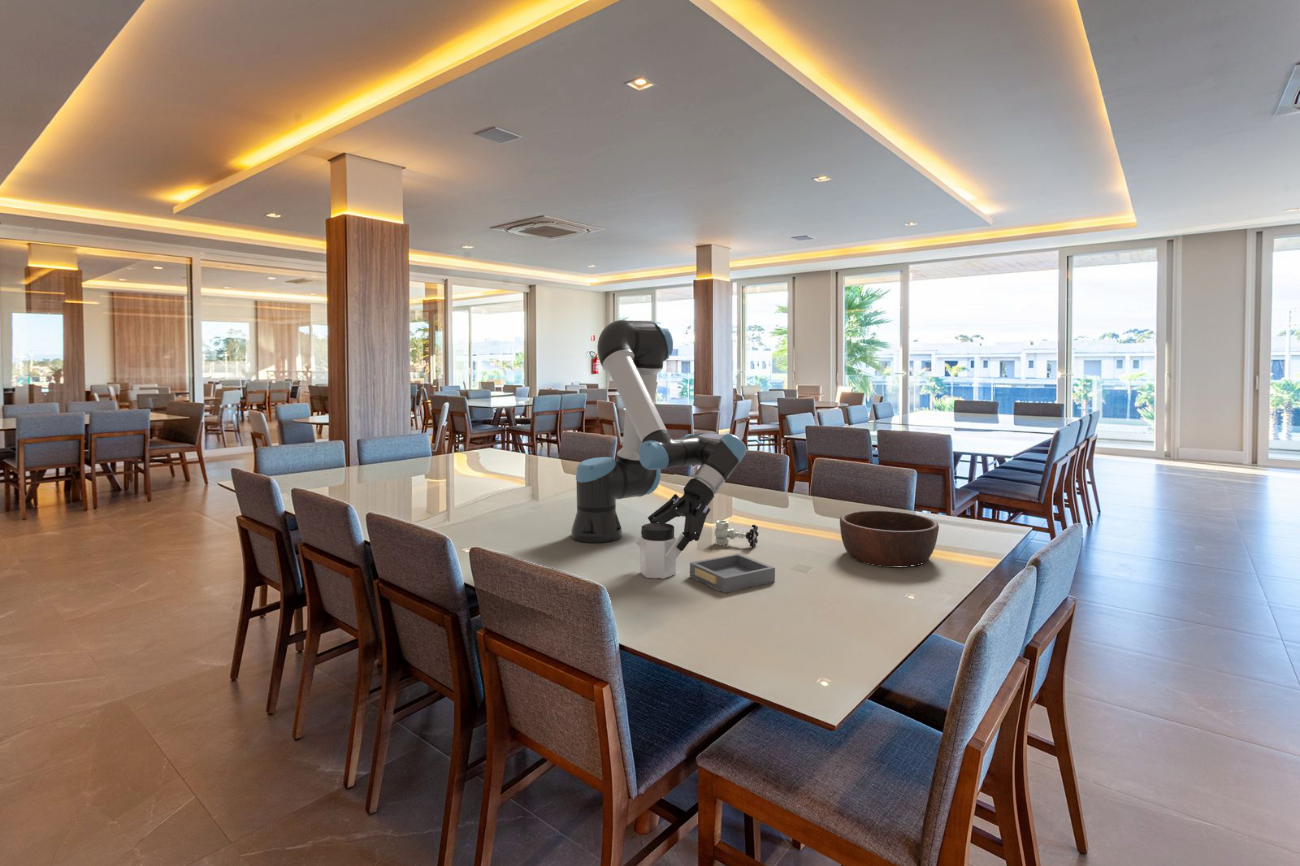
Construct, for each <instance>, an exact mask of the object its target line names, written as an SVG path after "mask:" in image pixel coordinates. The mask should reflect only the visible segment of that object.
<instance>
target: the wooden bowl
mask: <svg viewBox="0 0 1300 866" xmlns="http://www.w3.org/2000/svg"><path fill="white" fill-rule="evenodd" d="M839 527H840V536H841V540H842V544H843V546H844V549H845V550H846V553H847V554H848V555H849V556H850V557H851V558H852V559H853V558H854V560H855V559H856V561H857V560H858V562H860V561H861V562H860V563H863V562H865V563H864V564H867V563H869V564H868V565H871V564H874V565H873V566H876V565H881V566H880V567H883V566H911V565H918V564H921V563H924V562H925V563H926V562H928V561H929V559H930V558H931V556H932V555H933V553H934V550H935V548H936V544H937V540H938V535H939V529H940V525H939V523H938V522H937V521H935V520H934V519H932V518H931V517H927V516H923V515H921V514H916V513H911V512H903V511H896V510H895V511H894V510H884V509H881V510H879V509H878V510H877V509H876V510H875V509H869V510H868V509H867V510H855V511H851V512H846V513H843V515H840V517H839ZM925 563H924V564H925Z"/></svg>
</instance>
